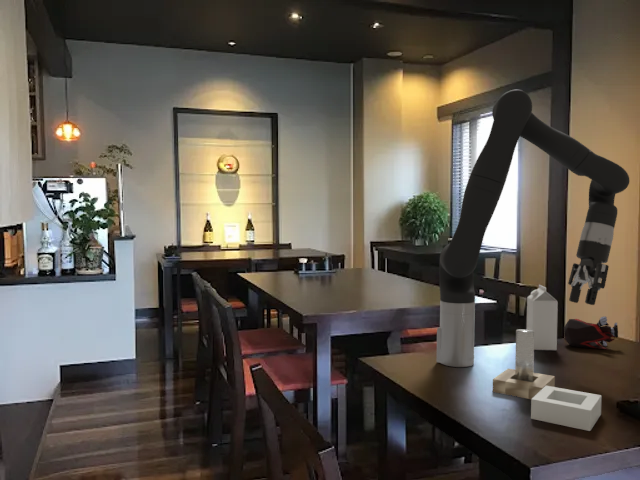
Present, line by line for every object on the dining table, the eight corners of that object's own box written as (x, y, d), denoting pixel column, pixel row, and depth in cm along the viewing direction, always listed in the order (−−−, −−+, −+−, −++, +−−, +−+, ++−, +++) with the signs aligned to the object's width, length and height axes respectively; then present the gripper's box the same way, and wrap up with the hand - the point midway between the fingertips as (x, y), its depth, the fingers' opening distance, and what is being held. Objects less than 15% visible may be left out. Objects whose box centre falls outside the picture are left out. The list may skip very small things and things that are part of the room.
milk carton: (549, 345, 177) (551, 284, 176) (556, 350, 170) (558, 287, 169) (526, 344, 178) (527, 284, 177) (532, 350, 171) (533, 287, 170)
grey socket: (530, 418, 115) (531, 399, 114) (545, 403, 124) (545, 385, 123) (590, 431, 108) (590, 410, 108) (600, 414, 117) (601, 395, 117)
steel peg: (512, 390, 132) (513, 331, 131) (517, 386, 135) (519, 328, 135) (530, 394, 130) (531, 333, 129) (535, 389, 133) (536, 330, 132)
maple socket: (492, 391, 131) (492, 379, 131) (507, 380, 140) (508, 368, 140) (541, 401, 125) (542, 388, 125) (554, 388, 134) (554, 376, 134)
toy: (616, 307, 172) (562, 308, 177) (620, 332, 165) (563, 332, 171) (615, 332, 179) (564, 332, 185) (619, 357, 172) (565, 356, 178)
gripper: (568, 240, 154) (555, 298, 154) (595, 237, 140) (580, 301, 139) (595, 247, 155) (581, 305, 154) (624, 245, 140) (610, 308, 139)
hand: (581, 303), depth 147 cm, fingers open, 8 cm apart
